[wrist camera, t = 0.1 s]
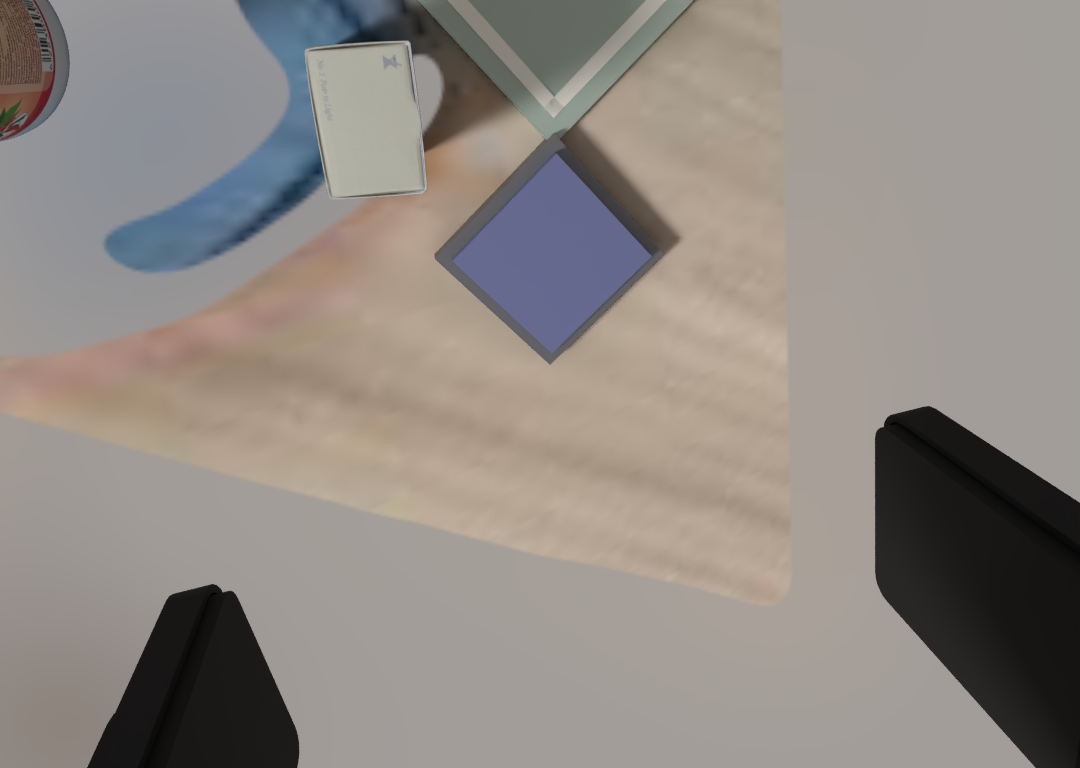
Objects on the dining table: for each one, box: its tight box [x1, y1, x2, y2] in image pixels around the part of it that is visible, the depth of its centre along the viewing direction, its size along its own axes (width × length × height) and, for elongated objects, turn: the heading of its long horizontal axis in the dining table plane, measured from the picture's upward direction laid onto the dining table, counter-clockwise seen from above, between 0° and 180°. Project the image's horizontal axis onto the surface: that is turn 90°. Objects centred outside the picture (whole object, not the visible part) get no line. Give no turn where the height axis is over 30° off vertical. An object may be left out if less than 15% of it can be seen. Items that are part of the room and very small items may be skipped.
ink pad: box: [434, 134, 664, 364], centre depth 46 cm, size 10×10×2 cm
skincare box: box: [305, 40, 427, 199], centre depth 37 cm, size 6×4×12 cm
